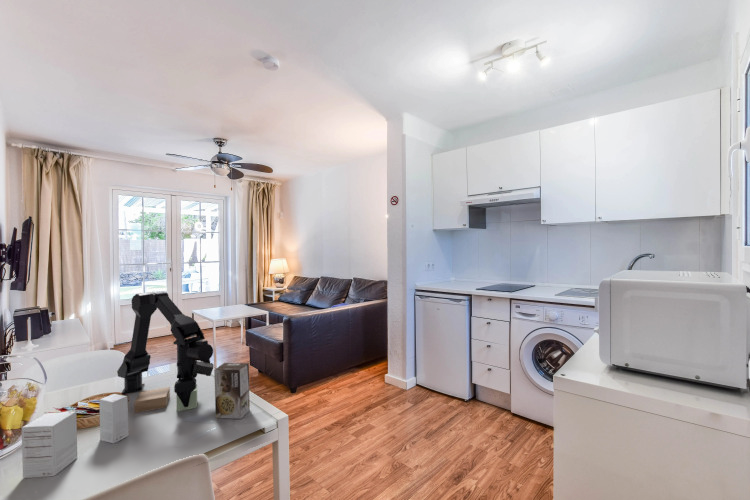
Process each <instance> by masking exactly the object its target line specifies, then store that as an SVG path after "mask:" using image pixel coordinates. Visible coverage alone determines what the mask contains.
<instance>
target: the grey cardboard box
mask: <svg viewBox="0 0 750 500" xmlns="http://www.w3.org/2000/svg"><path fill="white" fill-rule="evenodd" d="M249 366H250V363H248V362H224V363H222V364H221V365H219V366H217V368H214V369H213V371H214V372H213V374H214V397H215V398H214V401H215V402H214V405H215V406H214V407H215V409H214V410H215V418H216V419H235V420H237V419H242V418H244V417H245V416H246V415H247V413H249V412H250V408H251V407H250V406H251V405H250V404H251V403H250V372H249V371H250V367H249Z"/></svg>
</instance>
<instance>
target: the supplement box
mask: <svg viewBox="0 0 750 500" xmlns="http://www.w3.org/2000/svg"><path fill="white" fill-rule="evenodd" d="M21 455H22V460H21V461H22V478H23V479H25V478H26V479H31V478H46V477H55V476H56V475H58V474H59V473H60V472H61V471H62V470H63V469H65V468H66V467H68V466H69V465H70V464H72V463H73V462H74V461H75V460H76V459H78V429H77V411H58V412H47V413H45V414H43V415H42V416H40V417H38V418H37V419H34V420H33V421H31V422H29V423H27V424H26V425H24V426H21Z"/></svg>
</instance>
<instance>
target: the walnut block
mask: <svg viewBox="0 0 750 500" xmlns="http://www.w3.org/2000/svg"><path fill="white" fill-rule="evenodd" d="M170 388H171V387H170V386H168V387H161V388H157V389H156V388H155V389H150V390H144V391H143V390H142V391H140V392H139V394H138V396H137V398H136V399H135V401H134V414H137V413H142V412H147V411H148V412H149V411H152V410H158V409H159V410H160V409H165V408H167V405H168V403H169V401H170V398H171V394H170V393H171V392H170Z"/></svg>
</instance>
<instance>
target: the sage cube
mask: <svg viewBox="0 0 750 500" xmlns="http://www.w3.org/2000/svg"><path fill="white" fill-rule="evenodd" d="M197 407H198V384H197V383H196V389H195V390H193V391H192V392H191V395H190V400H189V405H188V407H184V405H183V404H182V402H181V400H180V398H179V397H178V395H177V394H176V412H182V411H185V410H190V409H196V408H197Z"/></svg>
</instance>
